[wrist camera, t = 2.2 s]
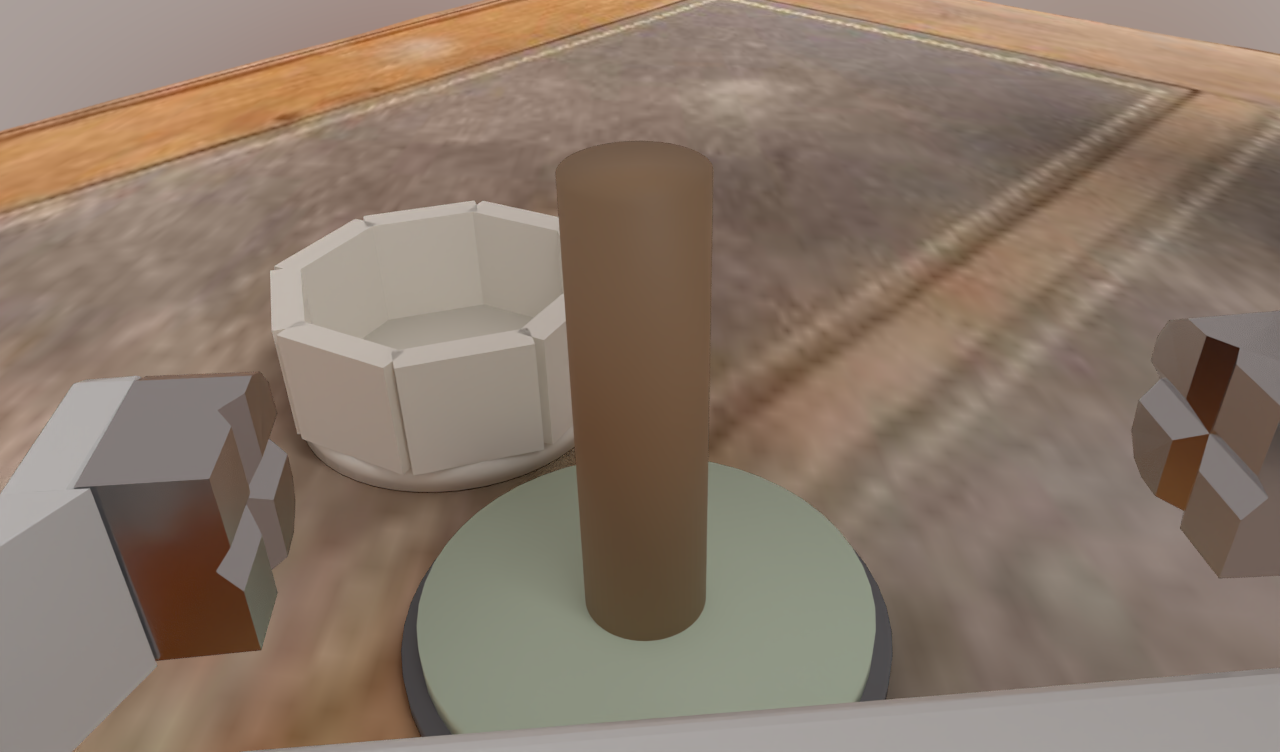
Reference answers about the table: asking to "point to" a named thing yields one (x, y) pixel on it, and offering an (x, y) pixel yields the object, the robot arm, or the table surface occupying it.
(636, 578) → the peg stand
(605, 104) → the table surface
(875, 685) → the mat
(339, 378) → the bowl
